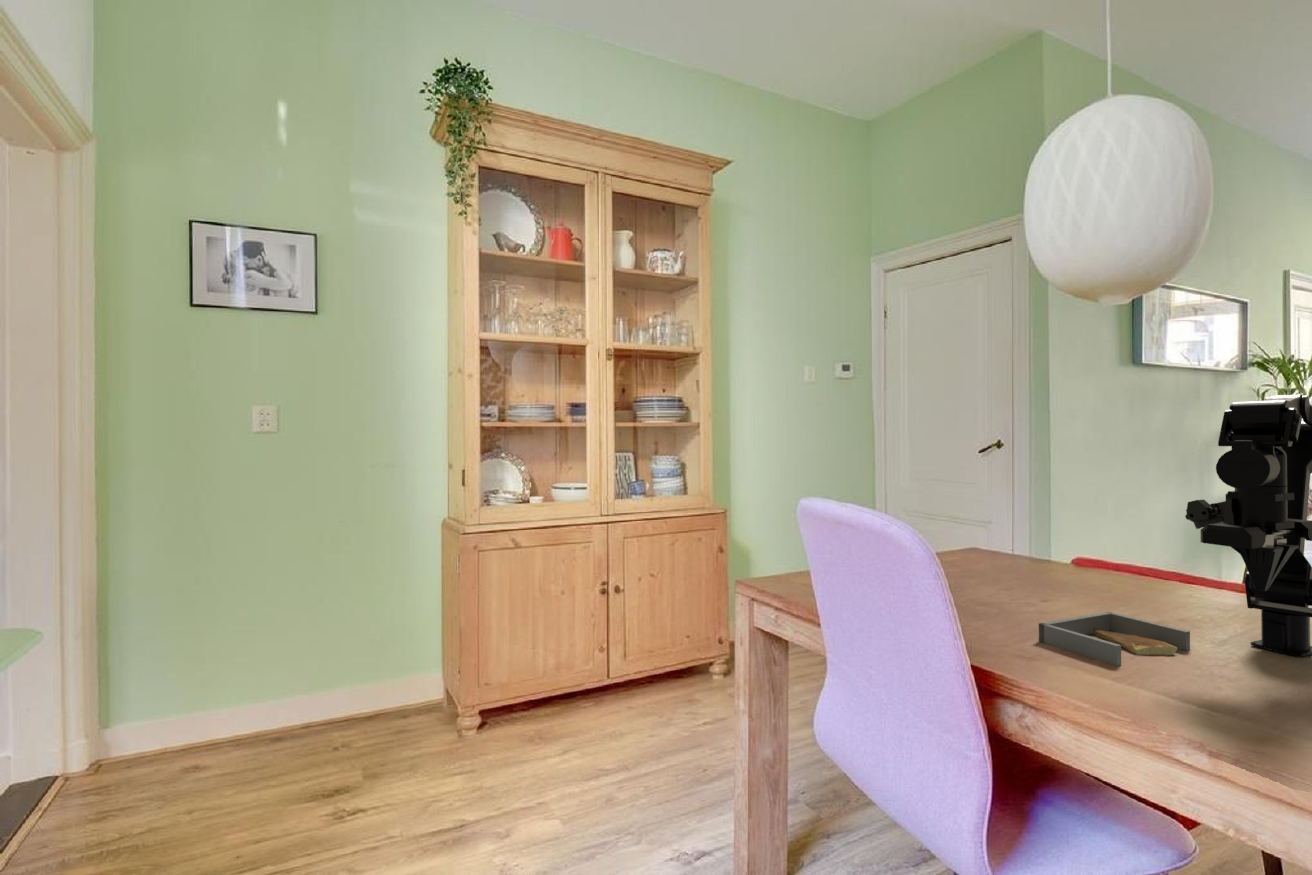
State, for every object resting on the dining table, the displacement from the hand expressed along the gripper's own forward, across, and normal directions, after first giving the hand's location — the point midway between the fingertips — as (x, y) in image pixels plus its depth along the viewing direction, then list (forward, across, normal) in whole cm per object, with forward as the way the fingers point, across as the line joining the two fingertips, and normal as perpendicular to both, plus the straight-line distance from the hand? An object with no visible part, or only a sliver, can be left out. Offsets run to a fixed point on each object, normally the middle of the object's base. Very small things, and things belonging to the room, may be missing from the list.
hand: (1261, 590), depth 96 cm
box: (+12, +8, -16) cm, 22 cm away
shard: (+13, +6, -15) cm, 21 cm away
